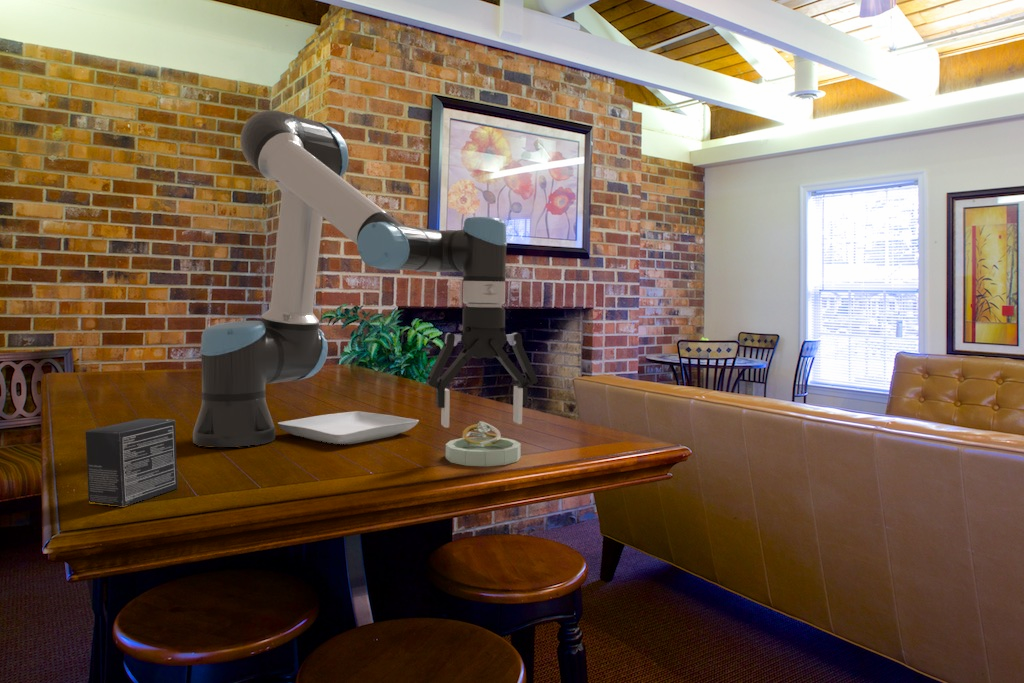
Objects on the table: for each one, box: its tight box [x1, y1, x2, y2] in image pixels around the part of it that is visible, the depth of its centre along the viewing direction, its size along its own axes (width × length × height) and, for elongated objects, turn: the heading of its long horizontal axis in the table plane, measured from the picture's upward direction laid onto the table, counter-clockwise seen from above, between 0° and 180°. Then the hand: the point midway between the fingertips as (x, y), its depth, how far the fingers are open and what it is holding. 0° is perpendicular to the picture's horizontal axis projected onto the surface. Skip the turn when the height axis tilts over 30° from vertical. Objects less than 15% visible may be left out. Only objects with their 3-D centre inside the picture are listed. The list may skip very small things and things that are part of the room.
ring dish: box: [445, 436, 522, 467], centre depth 130 cm, size 13×13×2 cm
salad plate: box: [276, 410, 420, 446], centre depth 150 cm, size 21×21×3 cm
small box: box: [85, 418, 179, 506], centre depth 103 cm, size 11×6×10 cm, turn 163°
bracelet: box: [462, 420, 502, 447], centre depth 134 cm, size 7×3×8 cm
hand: (482, 424), depth 130 cm, fingers open, 13 cm apart
